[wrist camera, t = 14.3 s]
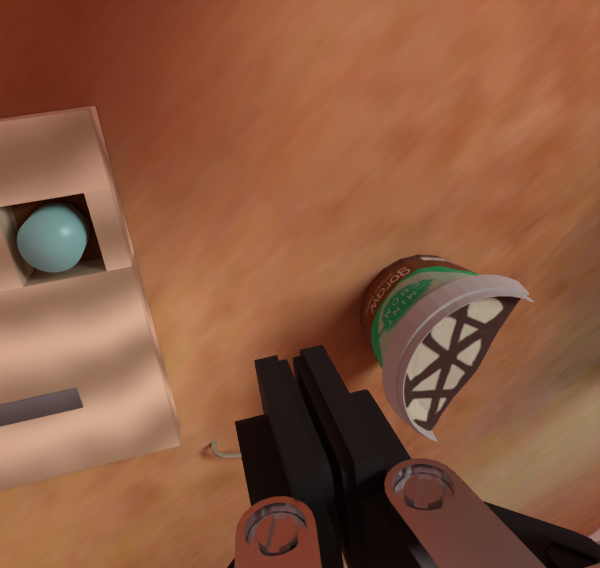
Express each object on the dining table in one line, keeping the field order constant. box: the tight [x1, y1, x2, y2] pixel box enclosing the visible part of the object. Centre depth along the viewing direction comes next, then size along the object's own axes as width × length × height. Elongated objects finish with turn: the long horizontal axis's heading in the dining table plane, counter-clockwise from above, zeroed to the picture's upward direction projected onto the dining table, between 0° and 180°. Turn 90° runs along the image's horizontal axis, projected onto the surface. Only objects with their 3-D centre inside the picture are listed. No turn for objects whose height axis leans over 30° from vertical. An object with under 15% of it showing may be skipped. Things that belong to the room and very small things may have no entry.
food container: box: [360, 255, 533, 442], centre depth 37 cm, size 12×6×10 cm, turn 151°
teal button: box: [17, 202, 90, 272], centre depth 32 cm, size 4×4×3 cm
